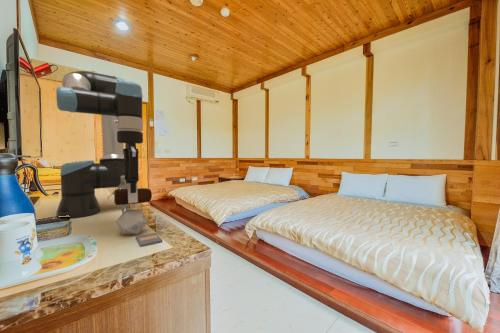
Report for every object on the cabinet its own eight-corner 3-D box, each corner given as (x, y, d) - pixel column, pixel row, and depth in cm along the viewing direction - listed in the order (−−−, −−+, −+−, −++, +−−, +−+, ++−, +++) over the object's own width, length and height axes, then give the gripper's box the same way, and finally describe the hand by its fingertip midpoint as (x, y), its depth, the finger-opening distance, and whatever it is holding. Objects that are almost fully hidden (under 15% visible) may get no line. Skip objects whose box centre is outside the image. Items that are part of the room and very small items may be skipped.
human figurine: (107, 224, 83) (106, 176, 82) (107, 221, 86) (106, 175, 85) (142, 219, 89) (141, 175, 88) (141, 217, 92) (140, 174, 92)
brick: (115, 205, 69) (115, 190, 69) (114, 203, 72) (114, 189, 72) (151, 202, 75) (151, 188, 75) (149, 200, 79) (149, 187, 78)
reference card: (135, 238, 69) (135, 236, 69) (155, 234, 73) (155, 232, 73) (140, 246, 63) (140, 244, 63) (162, 242, 66) (162, 239, 66)
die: (125, 241, 68) (146, 214, 71) (105, 226, 69) (125, 200, 72) (138, 241, 76) (156, 217, 78) (119, 227, 77) (137, 204, 80)
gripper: (114, 132, 77) (116, 198, 78) (120, 127, 63) (122, 208, 64) (137, 133, 81) (139, 196, 82) (148, 129, 68) (149, 204, 69)
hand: (131, 201), depth 73 cm, fingers closed on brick, 4 cm apart
